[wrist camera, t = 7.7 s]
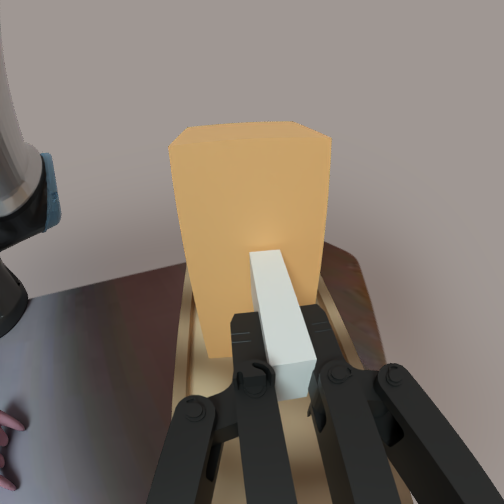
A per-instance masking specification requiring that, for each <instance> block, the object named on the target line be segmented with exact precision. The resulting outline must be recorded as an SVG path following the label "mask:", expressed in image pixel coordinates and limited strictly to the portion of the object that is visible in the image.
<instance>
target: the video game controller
mask: <svg viewBox="0 0 504 504" xmlns="http://www.w3.org/2000/svg"><path fill="white" fill-rule="evenodd" d="M1 426H7V427H10V428H12V429H15V430H19V431H24V430H25V427H24V426H23V425H22V424H21V423H20V422H19V421H18V420H16V419H15V418H13V417H11V416H10V415H8V414H6V413H5V412H3V411H1V410H0V446H6V445H7V443H8V437H7V435H6V433H5V432H4V431H3V429H2V428H1ZM4 464H5V462H4V458H3V456H2V455H1V454H0V468H2V467H4ZM0 486H1V487H4V488H6V489H8V490H12V491H15V490H16V486H15V485H14V484H13V483H11V482H10V481H9V480H7V479H6V478H5V477H3V476H2V475H0Z"/></svg>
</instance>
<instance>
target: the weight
mask: <svg viewBox="0 0 504 504" xmlns="http://www.w3.org/2000/svg"><path fill="white" fill-rule="evenodd" d="M331 140H332V138H330V137H328V136H326V135H324V134H321V133H319V132H317V131H314V130H312V129H310V128H308V127H305V126H303V125H300V124H298V123H295V122H293V121H292V122H291V121H290V122H289V121H285V122H283V121H282V122H246V123H229V124H216V125H206V126H196V127H187V128H186V129H185V130H184V131H183V132H182V133H181V134H180V135H179V136H178V137H177V138H176V139H175V140H174V141H173V142H172V143H171V144H170V145H169V146H168V149H169V157H170V165H171V172H172V180H173V186H174V193H175V200H176V205H177V212H178V218H179V224H180V230H181V235H182V241H183V246H184V252H185V257H186V262H187V267H188V272H189V277H190V282H191V286H192V291H193V295H194V300H195V304H196V309H197V313H198V317H199V322H200V326H201V330H202V334H203V338H204V342H205V346H206V350H207V353H208V357H209V358H223V357H232V343H231V330H230V322H231V320H232V318H233V316H234V314H237V313H247V312H254V308H253V302H252V295H251V277H250V256H249V252H256V251H267V250H279V249H280V252H281V255H282V257H283V260H284V263H285V266H286V269H287V272H288V274H289V277H290V280H291V283H292V286H293V289H294V292H295V295H296V298H297V301H298V304H299V306H304V305H311V304H315V302H316V296H317V289H318V282H319V275H320V267H321V260H322V252H323V243H324V234H325V224H326V214H327V202H328V191H329V177H330V161H331V160H330V159H331V142H332V141H331Z"/></svg>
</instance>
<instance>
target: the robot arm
mask: <svg viewBox="0 0 504 504" xmlns="http://www.w3.org/2000/svg"><path fill="white" fill-rule="evenodd" d="M0 27H1V26H0ZM60 219H61V208H60V202H59V197H58V193H57V186H56V179H55V173H54V167H53V161H52V156H51V154H49V153H41V154H39V152H38V150H37V149H36V148H35V147H34V146H33V145H30V144H29V143H25V142H24V140H23V137H22V133H21V130H20V127H19V124H18V120H17V117H16V113H15V110H14V106H13V102H12V98H11V94H10V90H9V84H8V80H7V75H6V69H5V63H4V56H3V48H2V39H1V28H0V252H1V251H3V250H5V249H7V248H9V247H11V246H13V245H15V244H17V243H19V242H21V241H23V240H26V239H28V238H30V237H32V236H34V235H36V234H38V233H41V232H42V233H44V232H46V230H47V229H49V228H51V227H53V226H55V225H57V224H58V223H59V222H60ZM249 256H250V277H251V295H252V302H253V308H254V312H247V313H237V314H234V316H233V318H232V320H231V322H230V330H231V343H232V357H233V370H234V371H233V377H232V383H231V384H230V386H229V387H228V388H227V389H225V390H224V391H222V392H220V393H218V394H215V395H213V396H210V397H204V396H201V395H190V396H187V397H184V398H183V399H182V400H181V401H179V403H178V404H177V406H176V408H175V411H174V414H173V417H172V420H171V423H170V426H169V430H168V433H167V436H166V439H165V442H164V446H163V449H162V452H161V455H160V459H159V462H158V465H157V468H156V472H155V475H154V478H153V482H152V485H151V489H150V492H149V495H148V499H147V502H146V504H211V503H212V498H213V493H214V489H215V484H216V479H217V475H218V470H219V465H220V460H221V456H222V451H223V446H224V442H226V441H229V440H231V439H234V438H237V437H239V442H240V452H241V461H242V469H243V478H244V486H245V494H246V502H247V504H298V503H297V498H296V493H295V488H294V483H293V478H292V473H291V468H290V462H289V457H288V452H287V447H286V442H285V437H284V431H283V426H282V421H281V416H280V411H279V405H278V401H284V400H290V399H296V398H302V397H307V394H308V392H309V396H310V399H311V402H310V405H309V408H308V411H307V417H309V416H310V415H311V416H312V420H313V424H314V428H315V432H316V437H317V441H318V445H319V449H320V453H321V457H322V461H323V465H324V470H325V474H326V478H327V482H328V487H329V491H330V495H331V500H332V504H401V500H400V497H399V493H398V490H397V487H396V483H395V480H394V477H393V474H392V471H391V468H390V464H389V461H388V459H389V460H390V462H391V463H392V465H393V466H394V468H395V469H396V471H397V472H398V474H399V475H400V477H401V478H402V480H403V481H404V483H405V484H406V486H407V487H408V489H409V490H410V492H411V493H412V495H413V496H414V498H415V499H416V501H417V502H418V504H504V500H503V498H502V497H501V495H500V494H499V492H498V491H497V489H496V487H495V486H494V485H493V483H492V482H491V480H490V479H489V477H488V476H487V474H486V473H485V471H484V470H483V468H482V467H481V466H480V464H479V463H478V461H477V460H476V459H475V457H474V456H473V454H472V453H471V452H470V450H469V449H468V448H467V446H466V445H465V443H464V442H463V441H462V439H461V438H460V437H459V435H458V434H457V433H456V431H455V430H454V429H453V427H452V426H451V425H450V423H449V422H448V421H447V419H446V418H445V417H444V416H443V414H442V413H441V412H440V410H439V409H438V408H437V407H436V405H435V404H434V403H433V401H432V400H431V399H430V398H429V397H428V395H427V394H426V393H425V392H424V391H423V389H422V388H421V387H420V385H419V384H418V383H417V381H416V380H415V379H414V378H413V377H412V376H411V374H410V373H409V372H408V370H406V369H405V368H404V367H403V366H401V365H399V364H396V363H394V364H392V363H390V364H387V365H384V366H383V367H382V368H381V369H380V370H379V371H371V370H360V369H357V368H354V367H353V366H352V365H350V364H349V363H347V362H346V360H345V359H344V357H343V354H342V352H341V349H340V347H339V344H338V342H337V339H336V337H335V334H334V332H333V330H332V327H331V325H330V323H329V320H328V317H327V315H326V313H325V311H324V310H323V309H322V308H321V307H320V306H319V305H318V304H311V305H304V306H299V304H298V301H297V298H296V295H295V292H294V289H293V286H292V283H291V280H290V277H289V274H288V272H287V269H286V266H285V263H284V260H283V257H282V255H281V252H280V249H279V250H267V251H256V252H249ZM27 301H28V294H27V292H26V290H25V288H24V286H23V284H22V283H21V281H20V280H18V278H17V277H16V276H15V275H14V274H13V273H12V272H11V271H10V270H9V269H8V268H7V267H6V266H5V265H4V263H3V262H2V260H1V258H0V337H1V336H3V335H4V334H5V333H7V332H8V331H9V330H10V329H11V328H12V327H13V326H14V325H15V324H16V322H17V321H18V320H19V319H20V317H21V315H22V314H23V312H24V310H25V308H26V305H27ZM387 457H388V458H387Z"/></svg>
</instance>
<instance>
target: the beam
mask: <svg viewBox="0 0 504 504" xmlns="http://www.w3.org/2000/svg"><path fill="white" fill-rule="evenodd" d="M315 304H318V305H319V306H320V307H321V308H322V309H323V310H324V311H325V313H326V315H327V317H328V320H329V323H330V325H331V327H332V330H333V332H334V334H335V337H336V339H337V342H338V344H339V347H340V349H341V352H342V354H343V357H344V359H345V360H346V362H347V363H349V364H350V365H352V366H353V367H354V368H357V369H360V370H364V368H363V366H362V363H361V361H360V359H359V357H358V354H357V352H356V350H355V347H354V345H353V343H352V341H351V338H350V336H349V334H348V332H347V330H346V327H345V325H344V323H343V321H342V319H341V317H340V314H339V312H338V310H337V308H336V306H335V304H334V302H333V300H332V298H331V295H330V293H329V291H328V289H327V287H326V285H325V283H324V281H323V279H322V277H321V275H319V282H318V289H317V296H316V302H315ZM233 371H234V370H233V357H223V358H209V357H208V353H207V350H206V346H205V342H204V338H203V334H202V330H201V326H200V322H199V317H198V313H197V309H196V304H195V300H194V295H193V291H192V286H191V282H190V277H189V272H188V267H186V274H185V281H184V288H183V296H182V303H181V312H180V320H179V329H178V338H177V349H176V359H175V371H174V384H173V400H172V417H173V414H174V411H175V408H176V406H177V404H178V403H179V401H181V400H182V399H183V398H184V397H187V396H190V395H201V396H204V397H210V396H213V395H215V394H218V393H220V392H222V391H224V390H225V389H227V388H228V387H229V386H230V384H231V383H232V377H233ZM310 402H311V399H310V396H309V392H308V394H307V397H302V398H296V399H290V400H284V401H278V405H279V411H280V416H281V421H282V426H283V431H284V437H285V442H286V447H287V452H288V457H289V462H290V468H291V473H292V478H293V483H294V488H295V493H296V498H297V503H298V504H332V500H331V495H330V491H329V487H328V482H327V478H326V474H325V470H324V465H323V461H322V457H321V453H320V449H319V445H318V441H317V437H316V432H315V428H314V424H313V420H312V416H311V415H310V416H309V417H307V411H308V408H309V405H310ZM171 420H172V419H171ZM387 458H388V457H387ZM388 461H389V464H390V468H391V471H392V474H393V477H394V480H395V483H396V487H397V490H398V493H399V497H400V500H401V504H413V500H412V497H411V494H410V491H409V489H408V487H407V486H406V484H405V483H404V481H403V480H402V478H401V477H400V475H399V474H398V472H397V471H396V469H395V468H394V466H393V465H392V463H391V462H390V460H389V459H388ZM211 504H247V502H246V494H245V486H244V478H243V469H242V461H241V452H240V442H239V437H237V438H234V439H231V440H229V441H226V442H224V446H223V451H222V456H221V460H220V465H219V470H218V475H217V479H216V484H215V489H214V493H213V498H212V503H211Z"/></svg>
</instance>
